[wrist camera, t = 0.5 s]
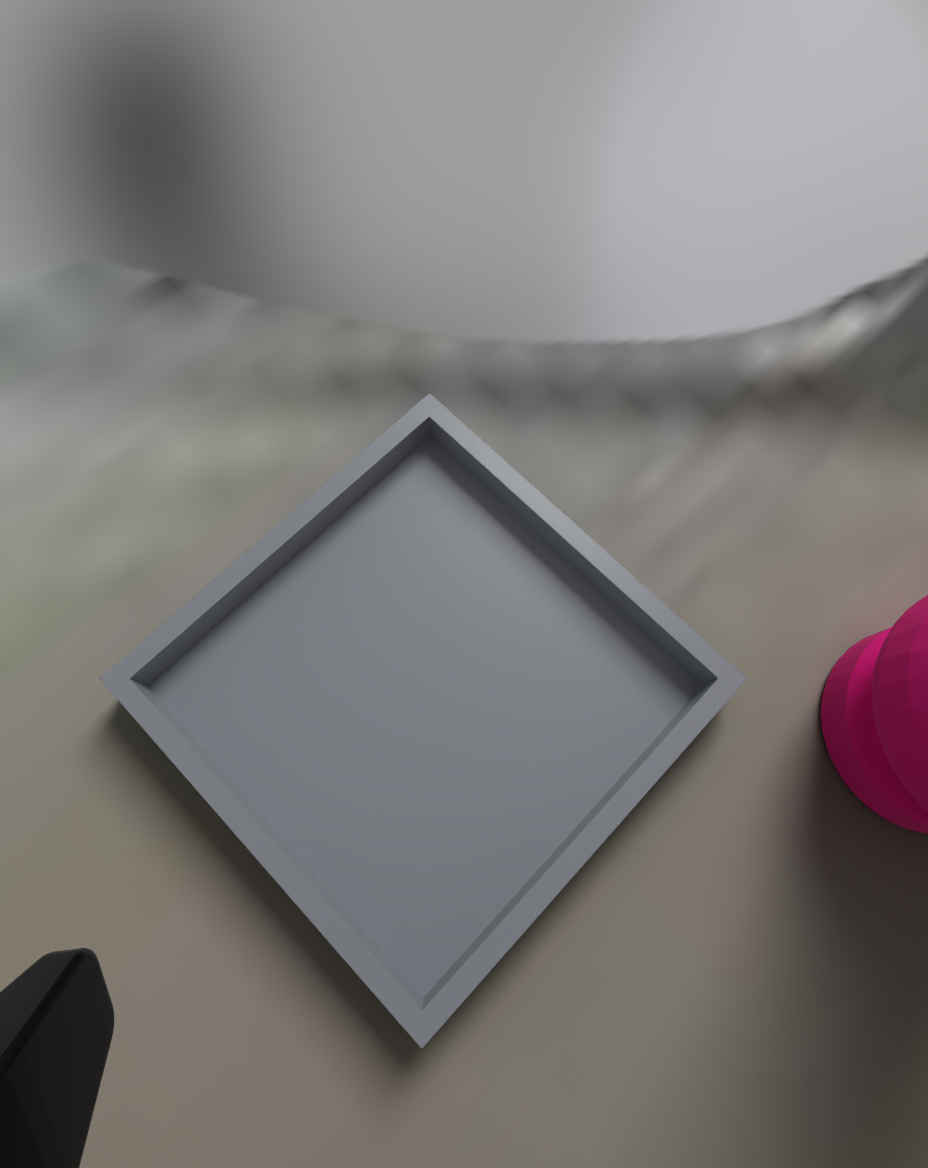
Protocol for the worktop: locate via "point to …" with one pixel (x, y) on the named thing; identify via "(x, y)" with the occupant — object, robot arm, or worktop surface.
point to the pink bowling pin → (883, 719)
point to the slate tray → (424, 706)
